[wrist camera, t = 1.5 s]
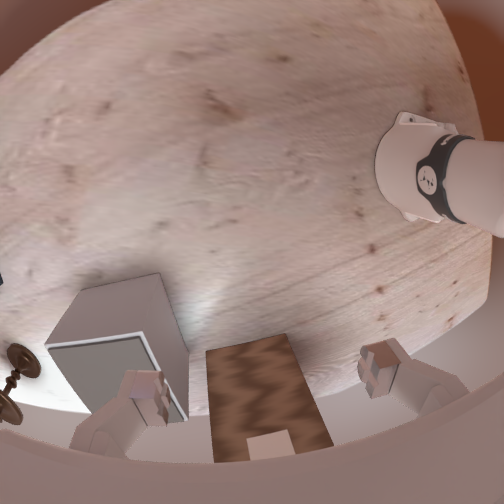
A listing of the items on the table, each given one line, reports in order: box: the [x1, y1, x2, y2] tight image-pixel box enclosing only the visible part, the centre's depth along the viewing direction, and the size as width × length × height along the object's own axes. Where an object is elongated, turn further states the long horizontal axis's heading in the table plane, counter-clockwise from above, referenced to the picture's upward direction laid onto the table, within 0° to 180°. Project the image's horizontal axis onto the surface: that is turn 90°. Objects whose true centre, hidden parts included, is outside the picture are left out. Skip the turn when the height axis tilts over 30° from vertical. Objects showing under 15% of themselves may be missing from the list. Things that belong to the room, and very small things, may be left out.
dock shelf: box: [44, 273, 189, 423], centre depth 36 cm, size 14×16×15 cm
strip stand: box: [206, 334, 334, 463], centre depth 35 cm, size 14×10×31 cm
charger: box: [247, 429, 295, 460], centre depth 22 cm, size 4×16×3 cm, turn 10°
